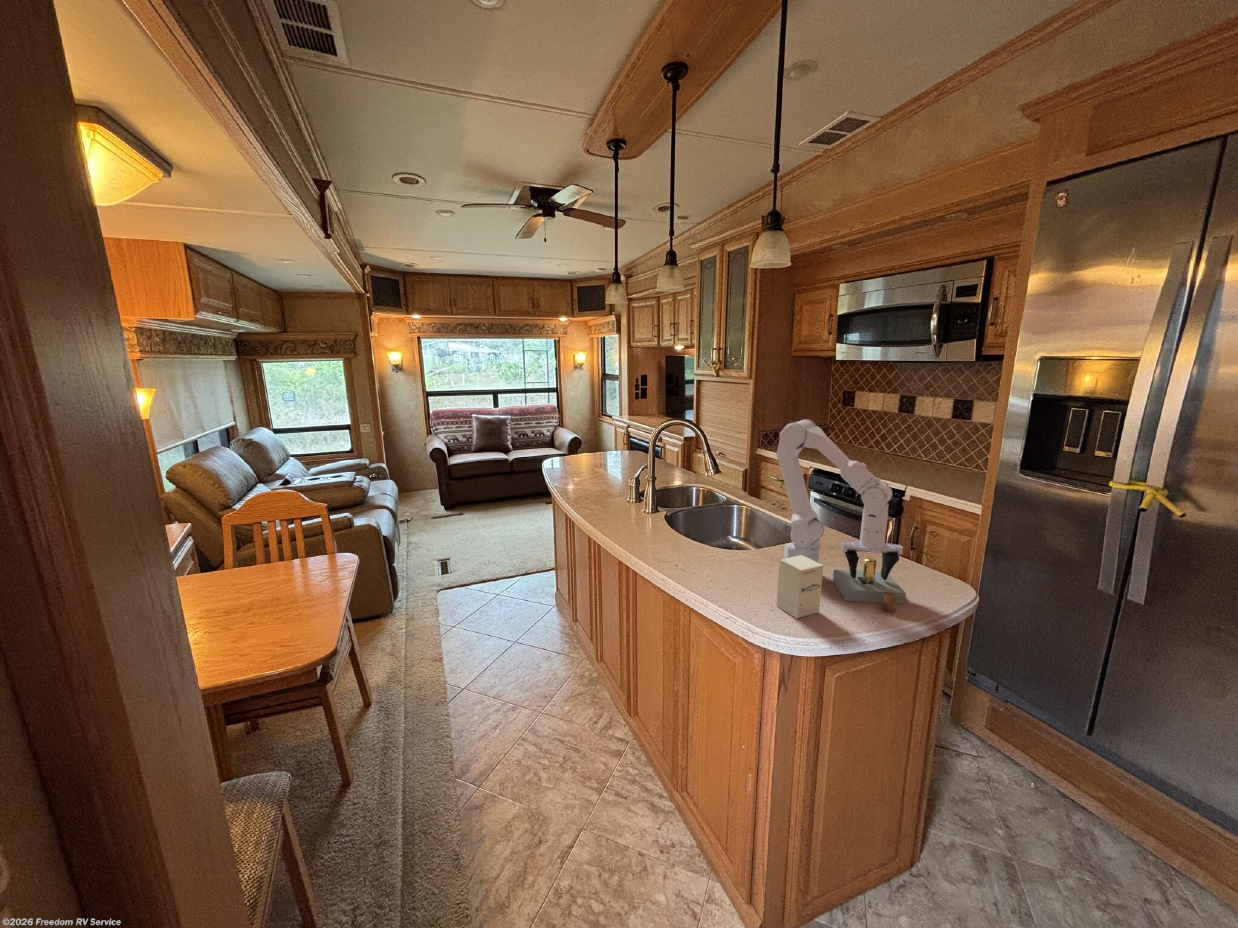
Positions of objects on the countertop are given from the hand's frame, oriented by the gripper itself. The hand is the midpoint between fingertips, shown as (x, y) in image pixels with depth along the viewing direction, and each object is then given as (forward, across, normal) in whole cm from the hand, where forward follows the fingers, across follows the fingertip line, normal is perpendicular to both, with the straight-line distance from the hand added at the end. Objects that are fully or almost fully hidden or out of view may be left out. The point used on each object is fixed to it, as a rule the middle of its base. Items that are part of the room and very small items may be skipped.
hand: (868, 577), depth 128 cm
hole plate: (+4, 0, 0) cm, 4 cm away
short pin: (+4, +2, -10) cm, 10 cm away
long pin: (+4, 0, 0) cm, 4 cm away
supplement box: (+4, -20, -12) cm, 24 cm away
